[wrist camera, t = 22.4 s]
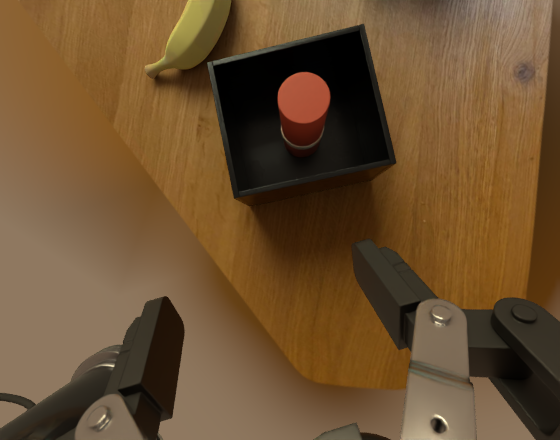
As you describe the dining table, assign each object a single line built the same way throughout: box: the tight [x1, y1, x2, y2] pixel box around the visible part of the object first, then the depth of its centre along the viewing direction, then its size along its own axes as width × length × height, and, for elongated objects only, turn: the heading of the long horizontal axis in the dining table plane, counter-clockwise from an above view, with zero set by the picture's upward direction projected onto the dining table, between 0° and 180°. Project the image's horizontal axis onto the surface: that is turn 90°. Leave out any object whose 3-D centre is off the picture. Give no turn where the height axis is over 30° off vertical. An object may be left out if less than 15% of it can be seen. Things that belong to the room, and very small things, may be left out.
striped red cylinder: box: [278, 72, 330, 157], centre depth 32 cm, size 5×5×12 cm
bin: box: [207, 24, 396, 206], centre depth 34 cm, size 17×15×10 cm
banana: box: [145, 0, 231, 79], centre depth 39 cm, size 14×6×20 cm
